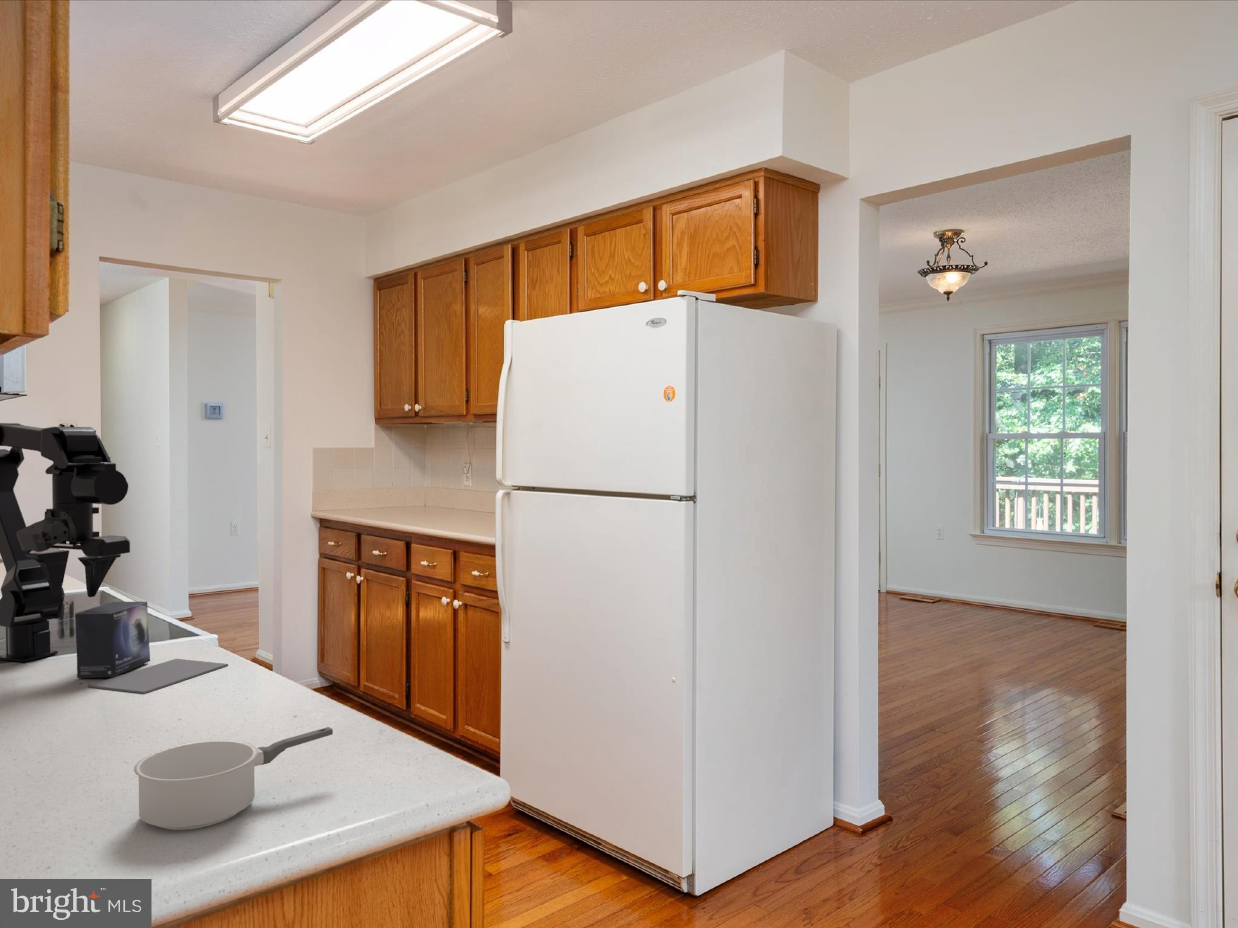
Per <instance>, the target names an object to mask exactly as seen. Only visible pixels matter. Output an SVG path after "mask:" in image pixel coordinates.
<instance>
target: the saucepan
mask: <svg viewBox="0 0 1238 928" xmlns="http://www.w3.org/2000/svg"><path fill="white" fill-rule="evenodd" d="M333 731H334V730H333V729H332V728H331V727H329V726H327V727H324V728H319V729H317V730H313V731H308V732H305V733H303V734H299V735H298V734H297V735H295V736H291V737H287V738H284V739H280V740H279V741H275V742H274V743H272V744H270V745H269V746H260V747H256V746H255V745H253V744H251V743H249V742H245V741H242V740H241V741H240V740H235V739H234V740H232V739H231V740H230V739H214V740H213V739H212V740H202V741H201V740H200V741H194V742H192V741H191V742H188V743H183V744H179V745H174V746H170V747H167V748H164V749H160V750H158V751H156V752H153V753H150V754H149V755H147V756H145V757H143V758H141V759H140V760H139V761H138V762H137V763H136V764H135V765H134V767H133V768H134V769H133V771H134V774H135V775H137V776H138V817H139V818H140V820H141V821H143V822H144V823H146V824H148V825H152V826H155V827H156V826H157V827H159V828H161V829H165V830H174V831H181V830H182V831H184V830H195V829H199V828H206V827H209V826H213V825H215V824H219V823H222V822H224V821H226V820H229V819H231V818H232V817H234V816H236V815H237V814H238V813H239V812H241V811H243V810H245V809H246V808H248V807H249V806H250V805H251V803H253V802H254V800H255V795H256V793H255V767H258V766H263V765H266V764H267V765H268V764H270V763H271V762H272V761H274V760H275V759H276V758H277V757H278V756H279V755H280V754H281V753H283V752H284V751H286V750H287V749H290V748H292V747H296V746H300V745H304V744H306V743H310V742H312V741H316V740H318V739H322V738H325V737H328V736H332V735H333V733H334V732H333Z"/></svg>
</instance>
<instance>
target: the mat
mask: <svg viewBox="0 0 1238 928" xmlns="http://www.w3.org/2000/svg"><path fill="white" fill-rule="evenodd" d="M227 666H228V667H229V664H228V663H222V662H221V663H220V662H212V661H202V660H194V659H193V660H192V659H185V658H184V659H183V658H172V659H170V660H167V661H164V662H161V663H157V664H154V665H150V666H148V667H147V666H146V667H144V668H140V669H137V670H133V671H130V672H127V673H125V674H119V675H117V676H114V677H109V678H108V679H107V678H106V679H103V680H101V681H98V682H94V683H91V684H88V685H87V686H88V688H94V689H101V690H109V691H110V690H111V691H118V692H124V693H125V692H127V693H136V694H145V695H146V694H149V693H151V692H155V691H157V690H160V689H163V688H165V687H168V686H172V685H175V684H178V683H182V682H184V681H187V680H189V679H193V678H196V677H198V676H202V675H204V674H208V673H210V672H214V671H217V670H220V669H222V668H225V667H227Z"/></svg>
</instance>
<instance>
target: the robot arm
mask: <svg viewBox="0 0 1238 928" xmlns="http://www.w3.org/2000/svg"><path fill="white" fill-rule="evenodd" d="M0 447H10V449H9V450H7V449H6V448H0V557H1V561H2V563H3V566H4V569H5V572H6V574H5V576H4V579H3V581H2V585H1V588H0V593H1V597H0V627H5V654H1V655H0V660H3V661H10V662H22V663H24V662H25V663H26V662H30V661H35V660H38V659H42V658H46V657H50V656H54V655H56V654H57V655H58V653H59V650H55V649H51V647H52V646H51V630H50V620H54V619H55V620H58V619H60V618H61V614H62V609H63V606H64V605H63V604H64V602H65V601H64V600H65V595H66V594H65V591H64V588H63V584H64V579H65V575H66V574H65V573H66V570H67V569H66V568H67V566H68V565H67V564H68V560H69V555H70V550H79V551H82V553H83V554H84V555H85V556H80V557H77V559H78V561H79V562H80V563H81V564H82V565H83V566H84V571H85V587H86V593H87V597H89V598H93V597H96V596H97V593H98V591H99V589H100V588H101V585H102V583H103V582H104V579H105V578H106V576H107V574H108V573H109V571H110V569H111V567H112V566H113V565H114V563H115V561H116V560H117V559H118V558H121V556H122V555H123V554H129V553H131V541H130V539H128V537H126V536H125V535H103V536H102V535H101V536H100V531H97V530H94V514H95V515H96V514H97V515H98V514H100V507H98V506H96V507H95V506H94V504H96V505H110V506H111V505H117V504H119V503H120V502H122V501H124V499H125V497H126V496H127V494H128V491H129V483H128V481H127V479H126V477H125V475H124V474H123V473H122V472H120V471H119V470H117V464H116V462H112V461H111V456H110V454H109V453H108V451H107V450H106V448H105V446H104V444H103V442H102V439H101V438H100V436H99V435H98V434H97V430H96V429H95V428H94V427H91V426H51V427H50V426H49V427H38V426H37V427H36V426H31V425H24V424H21V423H17V422H15V423H14V422H13V423H11V422H8V423H7V422H0ZM23 450H28V451H33V452H35V451H36V452H39V453H40V456H41V457H42V458H44V459H47V460H49V461H51V462H52V464H51V465H49V466H48V467H47V468H46V469H45V470H44V471H45V475H51V476H52V477H51V483H52V487H51V488H52V490H51V491H52V493H51V494H52V495H51V496H52V504H51V505H52V507H51V508H46V509H45V511H44V518H43V519H42V520H40V521H36V522H33V523H32V524H30V525H28V526H27V524H26V522H25V519H24V517H23V513H22V511H21V508H20V505H19V502H18V499H17V496H16V494H15V490H14V488H15V487H16V483H17V482H18V481H17V480H18V478H19V476H20V473H19V470H18V469H19V468H20V466H21V464H22V463H23V462H24V460H25V456H24V452H23ZM67 542H68V543H67Z"/></svg>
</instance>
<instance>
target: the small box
mask: <svg viewBox="0 0 1238 928" xmlns="http://www.w3.org/2000/svg"><path fill="white" fill-rule="evenodd" d="M148 607H149V606H148V601H112V602H109V603H105V604H102V605H99V606H98V605H97V606H95V607H92V608H89V609H85V610H82V611H78V612H76V613H74V623H75V644H76V645H75V646H76V647H75V648H76V649H75V650H76V678H78V679H81V678H82V679H86V678H88V679H89V678H114V677H117V676H120V675H122V674H123V673H126V672H128V671H130V670H133V669H135V668H138V667H139V666H143V665H145V664H147V663H148V662H149V663H150V661H151V653H150V649H151V648H150V634H149V631H150V630H149V613H148V612H149V611H148Z"/></svg>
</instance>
